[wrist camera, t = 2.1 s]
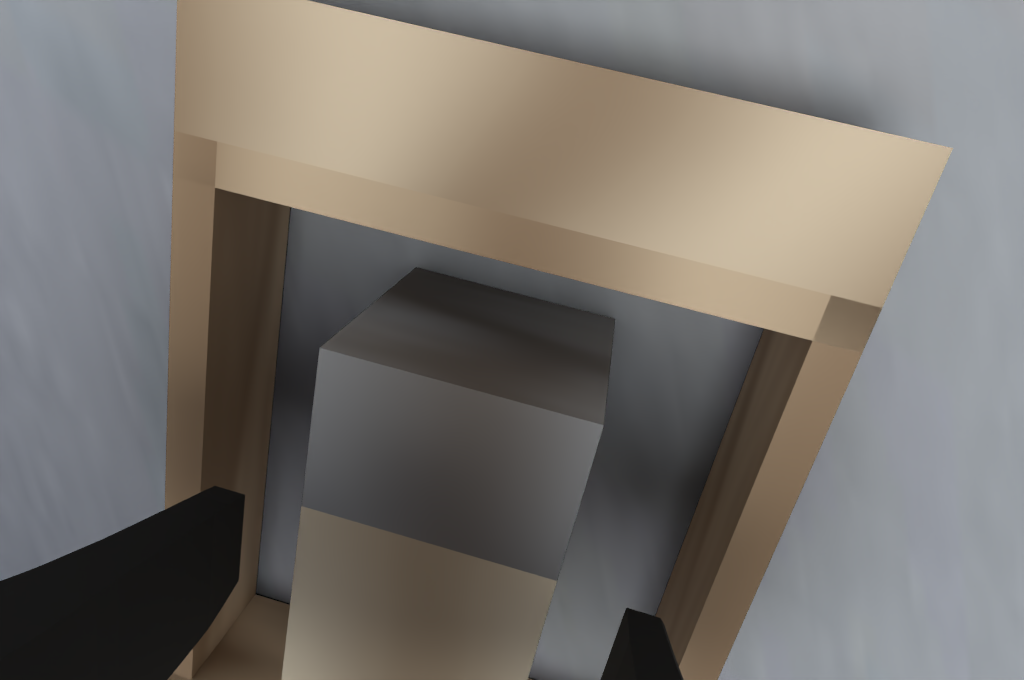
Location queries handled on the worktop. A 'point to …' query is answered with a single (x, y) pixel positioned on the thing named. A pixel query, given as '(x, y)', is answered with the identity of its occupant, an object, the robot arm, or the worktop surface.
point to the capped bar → (443, 482)
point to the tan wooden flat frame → (518, 251)
